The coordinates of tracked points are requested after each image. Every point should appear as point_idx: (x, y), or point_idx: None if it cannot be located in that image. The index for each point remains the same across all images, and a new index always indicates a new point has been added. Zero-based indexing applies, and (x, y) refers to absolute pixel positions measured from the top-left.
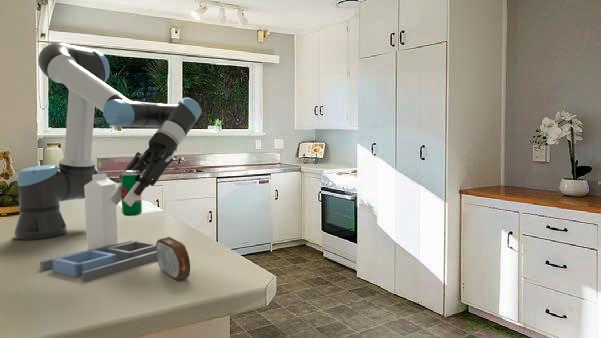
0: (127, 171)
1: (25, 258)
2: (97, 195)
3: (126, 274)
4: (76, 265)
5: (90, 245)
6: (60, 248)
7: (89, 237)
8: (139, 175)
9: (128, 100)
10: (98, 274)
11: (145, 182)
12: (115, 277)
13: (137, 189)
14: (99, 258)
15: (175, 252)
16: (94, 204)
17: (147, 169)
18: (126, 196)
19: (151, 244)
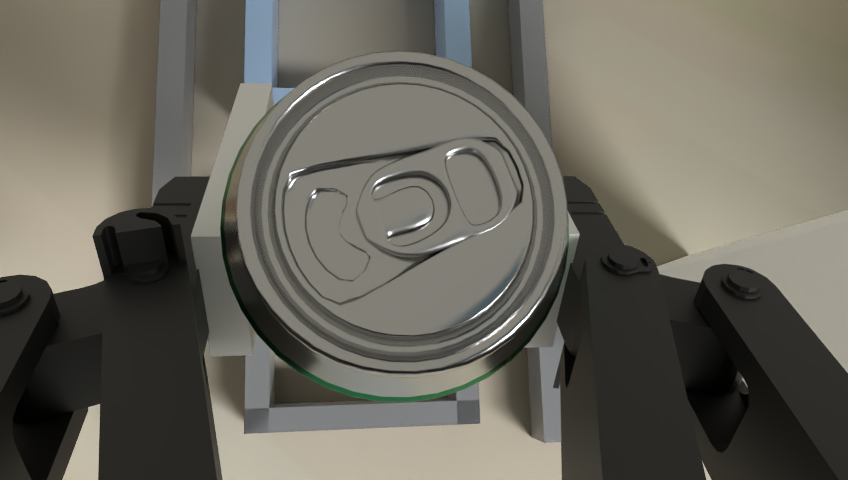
0: (357, 92)
1: (779, 16)
2: None
3: (88, 69)
4: None
5: (684, 257)
6: (843, 206)
7: (714, 248)
8: (234, 290)
9: None
10: None
11: (91, 294)
12: (98, 17)
13: (177, 200)
14: (259, 20)
15: None
16: (829, 220)
17: (147, 474)
18: (251, 105)
19: (300, 407)
